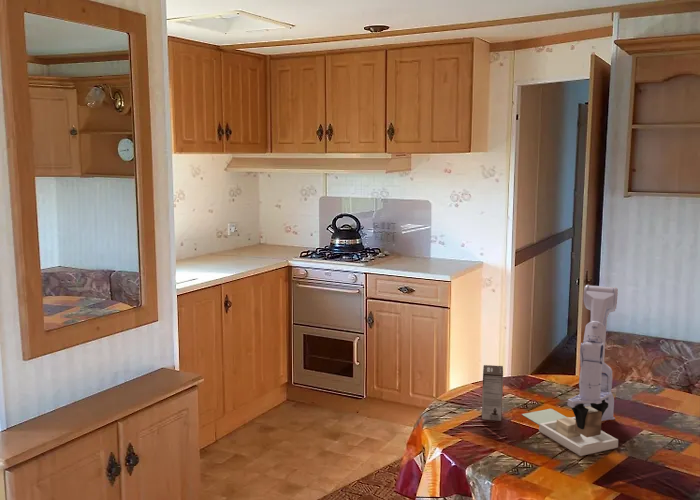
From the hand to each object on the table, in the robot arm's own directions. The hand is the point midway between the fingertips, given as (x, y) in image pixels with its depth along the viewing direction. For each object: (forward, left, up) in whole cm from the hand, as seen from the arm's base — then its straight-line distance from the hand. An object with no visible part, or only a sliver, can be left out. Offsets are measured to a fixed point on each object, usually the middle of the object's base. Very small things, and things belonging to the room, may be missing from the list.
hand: (587, 426), depth 193 cm
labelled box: (0, 0, -2) cm, 2 cm away
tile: (-2, -19, -6) cm, 20 cm away
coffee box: (+13, -29, -6) cm, 33 cm away
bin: (0, -4, -6) cm, 7 cm away
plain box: (0, -8, -6) cm, 10 cm away
